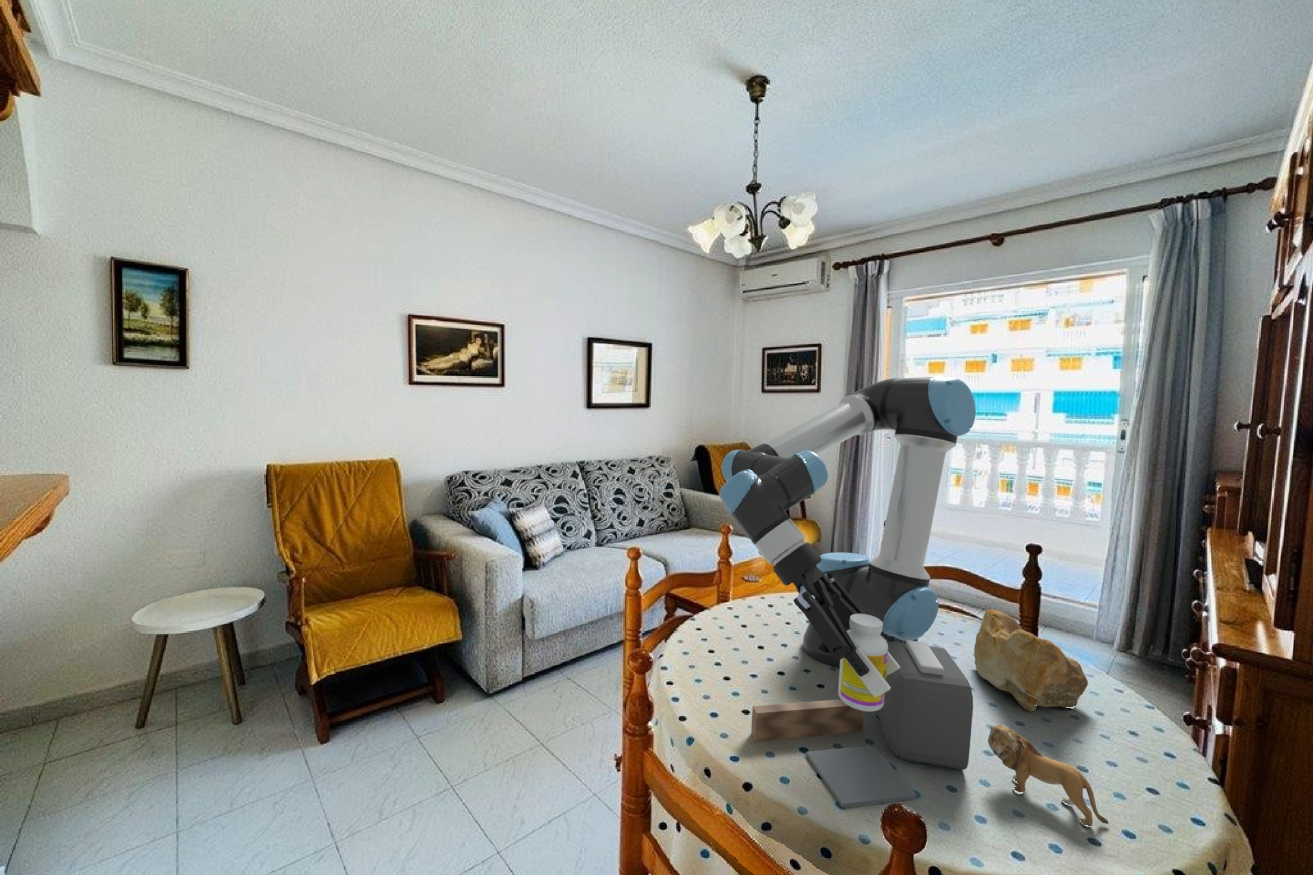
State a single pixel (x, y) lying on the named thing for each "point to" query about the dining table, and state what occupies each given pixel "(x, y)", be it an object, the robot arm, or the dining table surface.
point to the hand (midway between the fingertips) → (887, 681)
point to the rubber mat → (859, 776)
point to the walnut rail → (804, 720)
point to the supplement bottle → (876, 649)
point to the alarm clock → (927, 706)
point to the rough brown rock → (1026, 664)
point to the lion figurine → (1041, 769)
